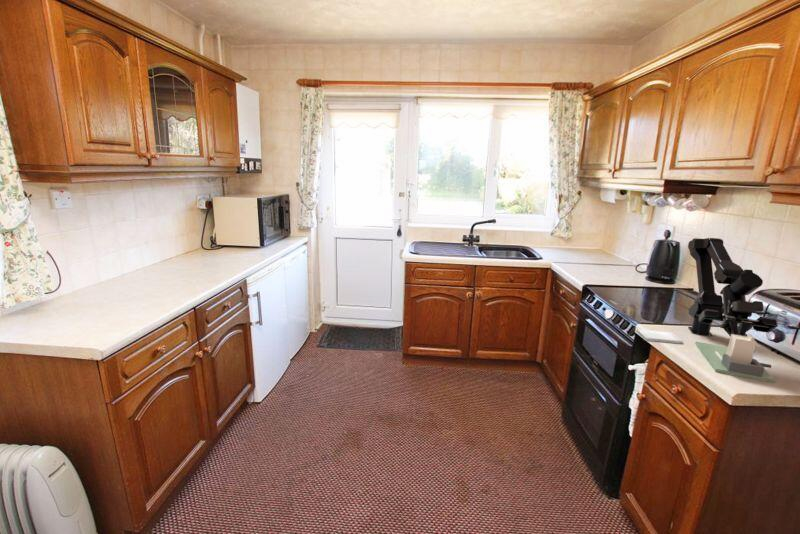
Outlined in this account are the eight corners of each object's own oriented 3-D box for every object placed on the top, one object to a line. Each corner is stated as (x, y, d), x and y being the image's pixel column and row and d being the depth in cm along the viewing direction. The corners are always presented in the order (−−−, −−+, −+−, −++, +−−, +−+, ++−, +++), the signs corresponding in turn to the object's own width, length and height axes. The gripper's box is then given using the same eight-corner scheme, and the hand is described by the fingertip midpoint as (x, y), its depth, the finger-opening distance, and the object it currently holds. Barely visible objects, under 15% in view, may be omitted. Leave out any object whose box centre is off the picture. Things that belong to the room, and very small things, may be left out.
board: (694, 343, 137) (695, 340, 136) (744, 352, 131) (745, 348, 131) (715, 371, 117) (716, 367, 117) (774, 382, 112) (775, 378, 111)
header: (721, 362, 121) (723, 353, 120) (753, 368, 118) (755, 359, 117) (728, 370, 116) (730, 361, 115) (761, 377, 113) (764, 368, 112)
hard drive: (645, 337, 138) (683, 341, 136) (636, 328, 146) (671, 331, 144) (644, 341, 139) (682, 345, 137) (635, 332, 146) (670, 336, 145)
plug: (724, 359, 123) (732, 331, 120) (766, 367, 119) (774, 337, 116) (729, 365, 119) (736, 335, 117) (772, 373, 115) (781, 342, 113)
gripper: (709, 286, 124) (712, 330, 117) (784, 294, 117) (791, 342, 110) (697, 301, 133) (699, 342, 127) (765, 309, 126) (771, 354, 119)
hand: (738, 345), depth 120 cm, fingers closed, pressing on plug
